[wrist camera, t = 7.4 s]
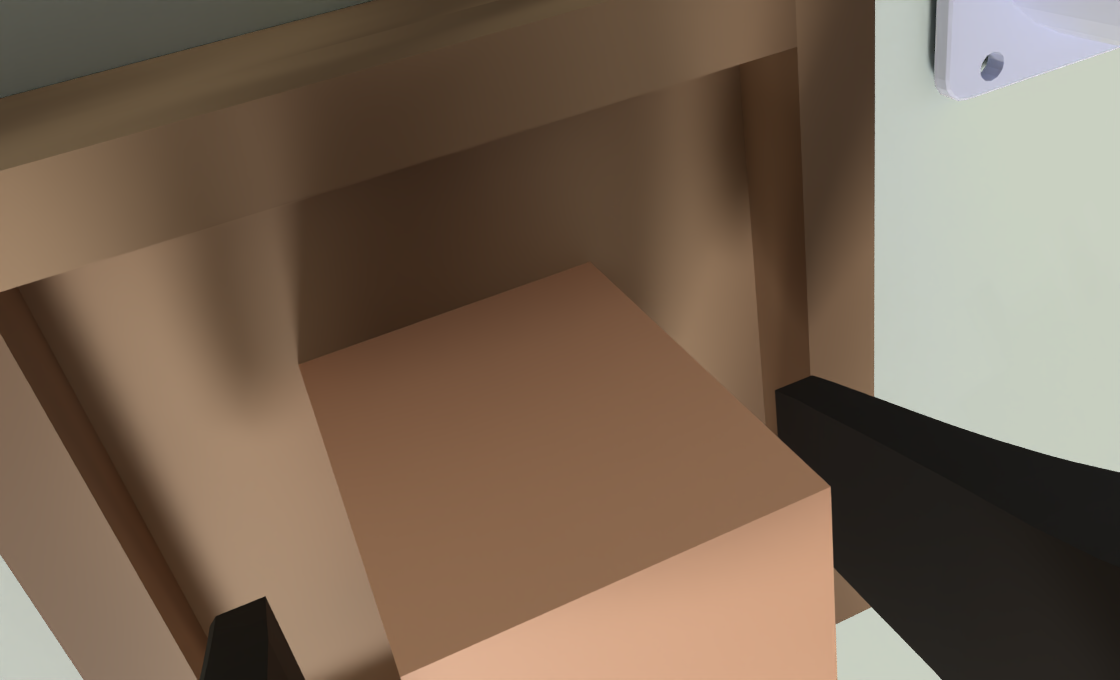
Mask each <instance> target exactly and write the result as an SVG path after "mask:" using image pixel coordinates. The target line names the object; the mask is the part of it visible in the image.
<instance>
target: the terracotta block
mask: <svg viewBox="0 0 1120 680" xmlns="http://www.w3.org/2000/svg"><path fill="white" fill-rule="evenodd" d="M299 369H300V372H301V375H302V378H303V381H304V384H305V387H306V390H307V393H308V396H309V399H310V402H311V405H312V408H313V411H314V415H315V418H316V421H317V424H318V427H319V430H320V433H321V436H322V439H323V442H324V445H325V448H326V451H327V454H328V457H329V461H330V464H331V467H332V470H333V473H334V476H335V479H336V482H337V485H338V488H339V491H340V494H341V497H342V500H343V503H344V507H345V510H346V513H347V516H348V519H349V522H350V525H351V528H352V531H353V534H354V537H355V540H356V543H357V546H358V549H359V553H360V556H361V559H362V562H363V565H364V568H365V571H366V574H367V577H368V580H369V583H370V586H371V589H372V592H373V595H374V598H375V602H376V605H377V608H378V611H379V614H380V617H381V620H382V623H383V626H384V629H385V632H386V635H387V638H388V641H389V644H390V648H391V651H392V654H393V657H394V660H395V663H396V666H397V669H398V672H399V675H400V678H401V680H837V658H836V628H835V598H834V568H833V538H832V508H831V486H830V485H828V484H827V483H826V482H825V481H824V480H823V479H822V478H821V477H820V476H819V475H818V474H817V473H816V472H815V471H813V470H812V469H811V468H810V467H809V466H808V465H807V464H806V463H805V462H804V461H803V460H802V459H801V458H800V457H798V456H797V455H796V454H795V453H794V452H793V451H792V450H791V449H790V448H789V447H788V446H787V445H786V444H785V443H784V442H782V441H781V440H780V439H779V438H778V437H777V436H776V435H775V434H774V433H773V432H772V431H771V430H770V429H769V428H767V427H766V426H765V425H764V424H763V423H762V422H761V421H760V420H759V419H758V418H757V417H756V416H755V415H754V414H753V413H751V412H750V411H749V410H748V409H747V408H746V407H745V406H744V405H743V404H742V403H741V402H740V401H739V400H738V399H736V398H735V397H734V396H733V395H732V394H731V393H730V392H729V391H728V390H727V389H726V388H725V387H724V386H723V385H721V384H720V383H719V382H718V381H717V380H716V379H715V378H714V377H713V376H712V375H711V374H710V373H709V372H708V371H707V370H705V369H704V368H703V367H702V366H701V365H700V364H699V363H698V362H697V361H696V360H695V359H694V358H693V357H692V356H690V355H689V354H688V353H687V352H686V351H685V350H684V349H683V348H682V347H681V346H680V345H679V344H678V343H677V342H676V341H674V340H673V339H672V338H671V337H670V336H669V335H668V334H667V333H666V332H665V331H664V330H663V329H662V328H661V327H659V326H658V325H657V324H656V323H655V322H654V321H653V320H652V319H651V318H650V317H649V316H648V315H647V314H646V313H644V312H643V311H642V310H641V309H640V308H639V307H638V306H637V305H636V304H635V303H634V302H633V301H632V300H631V299H630V298H628V297H627V296H626V295H625V294H624V293H623V292H622V291H621V290H620V289H619V288H618V287H617V286H616V285H615V284H613V283H612V282H611V281H610V280H609V279H608V278H607V277H606V276H605V275H604V274H603V273H602V272H601V271H600V270H599V269H597V268H596V267H595V266H594V265H593V264H592V263H591V262H587V263H585V264H582V265H579V266H576V267H573V268H570V269H568V270H565V271H562V272H559V273H556V274H553V275H551V276H548V277H545V278H542V279H539V280H536V281H534V282H531V283H528V284H525V285H522V286H519V287H517V288H514V289H511V290H508V291H505V292H502V293H500V294H497V295H494V296H491V297H488V298H485V299H483V300H480V301H477V302H474V303H471V304H468V305H466V306H463V307H460V308H457V309H454V310H451V311H449V312H446V313H443V314H440V315H437V316H434V317H432V318H429V319H426V320H423V321H420V322H417V323H415V324H412V325H409V326H406V327H403V328H400V329H398V330H395V331H392V332H389V333H386V334H383V335H381V336H378V337H375V338H372V339H369V340H366V341H364V342H361V343H358V344H355V345H352V346H350V347H347V348H344V349H341V350H338V351H335V352H333V353H330V354H327V355H324V356H321V357H318V358H316V359H313V360H310V361H307V362H304V363H301V364H299Z"/></svg>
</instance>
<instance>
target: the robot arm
mask: <svg viewBox="0 0 1120 680" xmlns="http://www.w3.org/2000/svg"><path fill="white" fill-rule="evenodd" d="M1118 48H1120V0H937V9H936V37H935V64H934V80H935V87H936V88H937V90H938V91H939V93H940V94H942V95H944V96H946V97H949V98H952V99H955V100H958V101H960V100H967V99H970V98H973V97H976V96H979V95H982V94H985V93H988V92H991V91H994V90H997V89H1000V88H1003V87H1006V86H1009V85H1012V84H1015V83H1017V82H1020V81H1023V80H1026V79H1029V78H1032V77H1035V76H1038V75H1041V74H1044V73H1047V72H1050V71H1053V70H1056V69H1059V68H1062V67H1065V66H1068V65H1070V64H1073V63H1076V62H1079V61H1082V60H1085V59H1088V58H1091V57H1094V56H1097V55H1100V54H1103V53H1106V52H1109V51H1112V50H1115V49H1118ZM987 55H988V60H987V64H986V67H985V68H984V69H983V71H982V72H981V71H980V70H981V66H982V62H983V61H984V59H985V58H986V57H987ZM775 402H776V418H777V433H778V438H779V439H780V440H781V441H782V442H784V443H785V444H786V445H787V446H788V447H789V448H790V449H791V450H792V451H793V452H794V453H795V454H796V455H797V456H798V457H800V458H801V459H802V460H803V461H804V462H805V463H806V464H807V465H808V466H809V467H810V468H811V469H812V470H813V471H815V472H816V473H817V474H818V475H819V476H820V477H821V478H822V479H823V480H824V481H825V482H826V483H827V484H828V485H830V486H831V508H832V538H833V567H834V569H835V570H836V571H837V572H838V573H839V574H840V575H841V576H842V577H843V578H844V579H845V580H846V581H847V582H848V583H849V584H850V585H851V586H852V587H853V588H854V589H855V590H856V592H857V593H858V594H859V595H860V596H861V597H862V598H863V599H864V600H865V601H866V602H867V603H868V604H869V605H870V606H871V607H872V608H873V609H874V610H875V611H876V612H877V613H878V614H879V615H880V616H881V617H882V618H883V619H884V620H885V621H886V622H887V623H888V624H889V625H890V626H891V627H892V628H893V629H894V631H895V632H896V633H897V634H898V635H899V636H900V637H901V638H902V639H903V640H904V641H905V642H906V643H907V644H908V645H909V646H910V647H911V648H912V649H913V650H914V651H915V652H916V653H917V654H918V655H919V656H920V657H921V658H922V659H923V660H924V661H925V662H926V663H927V664H928V665H929V666H930V667H931V668H932V669H933V670H934V672H935V673H936V674H937V675H938V676H939V677H940V678H941V679H942V680H1120V472H1115V471H1111V470H1107V469H1102V468H1098V467H1094V466H1089V465H1085V464H1081V463H1076V462H1072V461H1068V460H1064V459H1061V458H1057V457H1053V456H1049V455H1046V454H1042V453H1039V452H1035V451H1032V450H1029V449H1025V448H1022V447H1019V446H1015V445H1012V444H1009V443H1005V442H1002V441H998V440H995V439H992V438H989V437H986V436H983V435H980V434H977V433H974V432H971V431H968V430H965V429H962V428H959V427H956V426H953V425H950V424H947V423H944V422H942V421H939V420H936V419H933V418H930V417H927V416H925V415H922V414H919V413H916V412H914V411H911V410H908V409H905V408H903V407H900V406H897V405H895V404H892V403H889V402H887V401H884V400H881V399H878V398H876V397H873V396H870V395H868V394H865V393H862V392H860V391H857V390H854V389H851V388H849V387H846V386H843V385H840V384H838V383H835V382H832V381H829V380H826V379H823V378H820V377H817V376H813V375H811V376H809V377H806V378H804V379H801V380H799V381H796V382H794V383H791V384H789V385H786V386H784V387H781V388H779V389H776V390H775ZM199 680H305V678H304V676H303V674H302V672H301V669H300V667H299V665H298V663H297V661H296V659H295V657H294V655H293V653H292V651H291V649H290V646H289V644H288V642H287V640H286V638H285V636H284V634H283V632H282V630H281V628H280V626H279V623H278V621H277V619H276V617H275V615H274V613H273V611H272V609H271V607H270V605H269V602H268V600H267V598H266V596H264V597H262V598H259V599H257V600H254V601H252V602H250V603H247V604H245V605H242V606H240V607H237V608H235V609H232V610H230V611H227V612H225V613H222V614H220V615H217V616H216V617H215V618H214V620H213V622H212V623H211V625H210V627H209V634H208V640H207V645H206V651H205V656H204V661H203V666H202V670H201V675H200V679H199Z"/></svg>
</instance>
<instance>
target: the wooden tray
mask: <svg viewBox="0 0 1120 680" xmlns="http://www.w3.org/2000/svg"><path fill="white" fill-rule="evenodd" d="M874 166H875V0H373V1H370V2H366V3H362V4H358V5H354V6H351V7H347V8H343V9H339V10H335V11H332V12H328V13H324V14H320V15H316V16H312V17H309V18H305V19H301V20H297V21H293V22H290V23H286V24H282V25H278V26H274V27H271V28H267V29H263V30H259V31H255V32H251V33H248V34H244V35H240V36H236V37H232V38H229V39H225V40H221V41H217V42H213V43H210V44H206V45H202V46H198V47H194V48H191V49H187V50H183V51H179V52H175V53H171V54H168V55H164V56H160V57H156V58H152V59H149V60H145V61H141V62H137V63H133V64H130V65H126V66H122V67H118V68H114V69H110V70H107V71H103V72H99V73H95V74H91V75H88V76H84V77H80V78H76V79H72V80H69V81H65V82H61V83H57V84H53V85H50V86H46V87H42V88H38V89H34V90H30V91H27V92H23V93H19V94H15V95H11V96H8V97H4V98H0V555H1V556H2V558H3V559H4V561H5V562H6V564H7V565H8V567H9V568H10V570H11V571H12V573H13V574H14V576H15V577H16V579H17V580H18V582H19V583H20V585H21V586H22V588H23V589H24V591H25V592H26V594H27V595H28V597H29V598H30V600H31V601H32V603H33V604H34V606H35V607H36V609H37V610H38V612H39V613H40V615H41V616H42V618H43V619H44V621H45V622H46V624H47V625H48V627H49V628H50V630H51V631H52V633H53V634H54V636H55V637H56V639H57V640H58V642H59V643H60V645H61V646H62V648H63V649H64V651H65V652H66V654H67V655H68V657H69V658H70V660H71V661H72V663H73V664H74V666H75V667H76V669H77V670H78V672H79V673H80V675H81V676H82V678H83V679H84V680H199V679H200V675H201V670H202V666H203V661H204V656H205V651H206V645H207V640H208V634H209V627H210V625H211V623H212V622H213V620H214V618H215V617H216V616H217V615H220V614H222V613H225V612H227V611H230V610H232V609H235V608H237V607H240V606H242V605H245V604H247V603H250V602H252V601H254V600H257V599H259V598H262V597H264V596H266V598H267V600H268V602H269V605H270V607H271V609H272V611H273V613H274V615H275V617H276V619H277V621H278V623H279V626H280V628H281V630H282V632H283V634H284V636H285V638H286V640H287V642H288V644H289V646H290V649H291V651H292V653H293V655H294V657H295V659H296V661H297V663H298V665H299V667H300V669H301V672H302V674H303V676H304V678H305V680H401V678H400V675H399V672H398V669H397V666H396V663H395V660H394V657H393V654H392V651H391V648H390V644H389V641H388V638H387V635H386V632H385V629H384V626H383V623H382V620H381V617H380V614H379V611H378V608H377V605H376V602H375V598H374V595H373V592H372V589H371V586H370V583H369V580H368V577H367V574H366V571H365V568H364V565H363V562H362V559H361V556H360V553H359V549H358V546H357V543H356V540H355V537H354V534H353V531H352V528H351V525H350V522H349V519H348V516H347V513H346V510H345V507H344V503H343V500H342V497H341V494H340V491H339V488H338V485H337V482H336V479H335V476H334V473H333V470H332V467H331V464H330V461H329V457H328V454H327V451H326V448H325V445H324V442H323V439H322V436H321V433H320V430H319V427H318V424H317V421H316V418H315V415H314V411H313V408H312V405H311V402H310V399H309V396H308V393H307V390H306V387H305V384H304V381H303V378H302V375H301V372H300V369H299V364H301V363H304V362H307V361H310V360H313V359H316V358H318V357H321V356H324V355H327V354H330V353H333V352H335V351H338V350H341V349H344V348H347V347H350V346H352V345H355V344H358V343H361V342H364V341H366V340H369V339H372V338H375V337H378V336H381V335H383V334H386V333H389V332H392V331H395V330H398V329H400V328H403V327H406V326H409V325H412V324H415V323H417V322H420V321H423V320H426V319H429V318H432V317H434V316H437V315H440V314H443V313H446V312H449V311H451V310H454V309H457V308H460V307H463V306H466V305H468V304H471V303H474V302H477V301H480V300H483V299H485V298H488V297H491V296H494V295H497V294H500V293H502V292H505V291H508V290H511V289H514V288H517V287H519V286H522V285H525V284H528V283H531V282H534V281H536V280H539V279H542V278H545V277H548V276H551V275H553V274H556V273H559V272H562V271H565V270H568V269H570V268H573V267H576V266H579V265H582V264H585V263H587V262H591V263H592V264H593V265H594V266H595V267H596V268H597V269H599V270H600V271H601V272H602V273H603V274H604V275H605V276H606V277H607V278H608V279H609V280H610V281H611V282H612V283H613V284H615V285H616V286H617V287H618V288H619V289H620V290H621V291H622V292H623V293H624V294H625V295H626V296H627V297H628V298H630V299H631V300H632V301H633V302H634V303H635V304H636V305H637V306H638V307H639V308H640V309H641V310H642V311H643V312H644V313H646V314H647V315H648V316H649V317H650V318H651V319H652V320H653V321H654V322H655V323H656V324H657V325H658V326H659V327H661V328H662V329H663V330H664V331H665V332H666V333H667V334H668V335H669V336H670V337H671V338H672V339H673V340H674V341H676V342H677V343H678V344H679V345H680V346H681V347H682V348H683V349H684V350H685V351H686V352H687V353H688V354H689V355H690V356H692V357H693V358H694V359H695V360H696V361H697V362H698V363H699V364H700V365H701V366H702V367H703V368H704V369H705V370H707V371H708V372H709V373H710V374H711V375H712V376H713V377H714V378H715V379H716V380H717V381H718V382H719V383H720V384H721V385H723V386H724V387H725V388H726V389H727V390H728V391H729V392H730V393H731V394H732V395H733V396H734V397H735V398H736V399H738V400H739V401H740V402H741V403H742V404H743V405H744V406H745V407H746V408H747V409H748V410H749V411H750V412H751V413H753V414H754V415H755V416H756V417H757V418H758V419H759V420H760V421H761V422H762V423H763V424H764V425H765V426H766V427H767V428H769V429H770V430H771V431H772V432H773V433H774V434H775V435H776V436H777V437H778V433H777V418H776V402H775V390H776V389H779V388H781V387H784V386H786V385H789V384H791V383H794V382H796V381H799V380H801V379H804V378H806V377H809V376H811V375H813V376H817V377H820V378H823V379H826V380H829V381H832V382H835V383H838V384H840V385H843V386H846V387H849V388H851V389H854V390H857V391H860V392H862V393H865V394H868V395H870V396H873V397H874ZM833 568H834V567H833ZM834 598H835V624H837V623H839V622H841V621H843V620H845V619H848V618H850V617H852V616H854V615H856V614H858V613H860V612H862V611H864V610H866V609H868V608H870V607H871V606H870V605H869V604H868V603H867V602H866V601H865V600H864V599H863V598H862V597H861V596H860V595H859V594H858V593H857V592H856V590H855V589H854V588H853V587H852V586H851V585H850V584H849V583H848V582H847V581H846V580H845V579H844V578H843V577H842V576H841V575H840V574H839V573H838V572H837V571H836V570H835V569H834Z"/></svg>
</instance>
